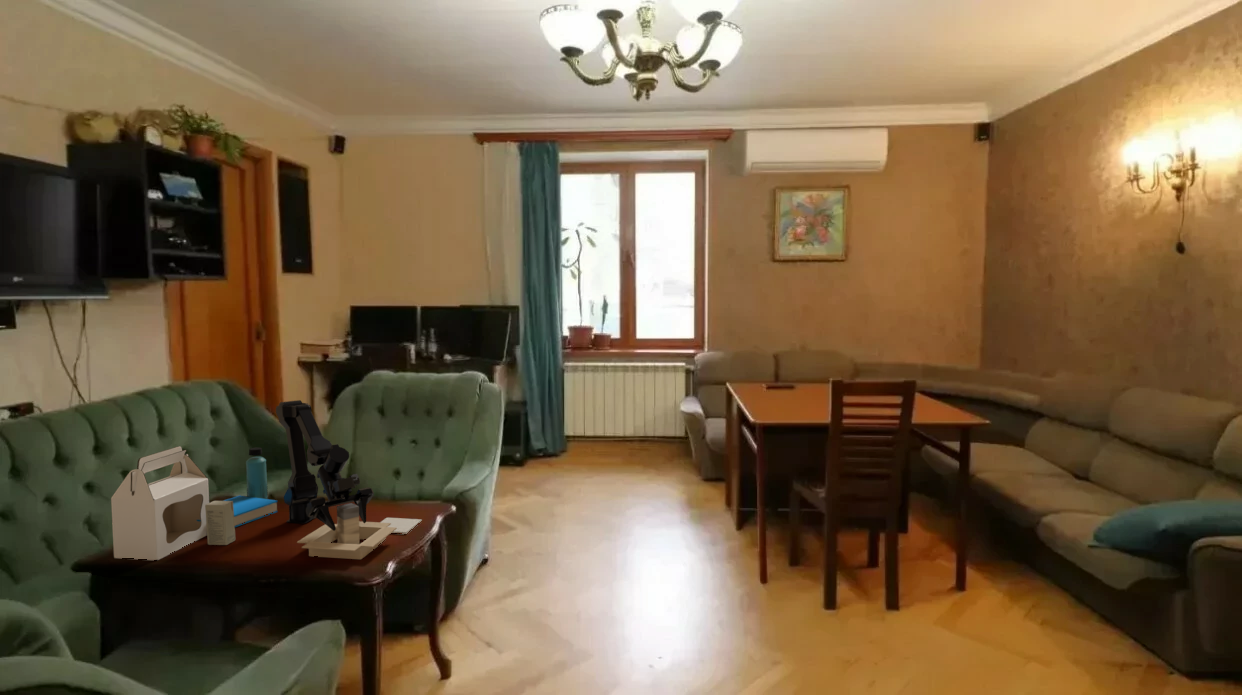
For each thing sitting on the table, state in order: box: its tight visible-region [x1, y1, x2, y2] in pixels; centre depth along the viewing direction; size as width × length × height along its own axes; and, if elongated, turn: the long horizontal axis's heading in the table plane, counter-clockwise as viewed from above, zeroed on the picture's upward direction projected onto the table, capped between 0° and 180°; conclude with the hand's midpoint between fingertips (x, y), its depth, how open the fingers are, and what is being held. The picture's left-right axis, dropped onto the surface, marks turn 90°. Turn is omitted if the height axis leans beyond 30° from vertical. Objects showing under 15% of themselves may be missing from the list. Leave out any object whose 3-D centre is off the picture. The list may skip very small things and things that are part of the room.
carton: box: [296, 520, 397, 560], centre depth 208 cm, size 23×23×4 cm
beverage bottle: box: [245, 447, 269, 499], centre depth 246 cm, size 6×7×20 cm
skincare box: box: [205, 500, 236, 546], centre depth 210 cm, size 6×4×12 cm
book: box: [196, 494, 279, 529], centre depth 230 cm, size 17×4×25 cm
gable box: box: [110, 445, 210, 561], centre depth 206 cm, size 22×13×28 cm, turn 174°
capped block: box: [336, 502, 361, 545], centre depth 207 cm, size 4×4×12 cm
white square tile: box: [379, 517, 423, 535], centre depth 226 cm, size 12×12×1 cm
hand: (350, 526), depth 206 cm, fingers open, 9 cm apart
